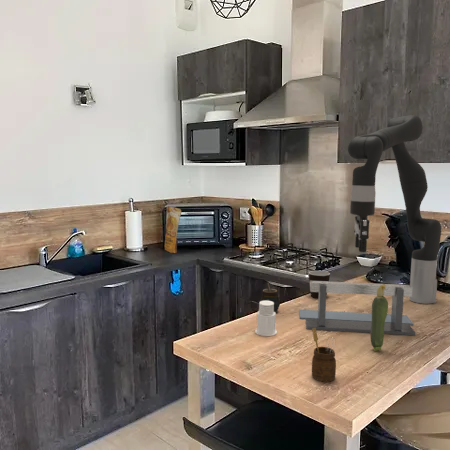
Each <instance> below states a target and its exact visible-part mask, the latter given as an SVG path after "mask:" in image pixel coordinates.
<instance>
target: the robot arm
mask: <svg viewBox="0 0 450 450" xmlns="http://www.w3.org/2000/svg"><path fill="white" fill-rule="evenodd" d="M422 134H423V122H422V118H420V117H419V116H418V115H416V114H415V115H414V114H409V115H402V116H396V117H392V118H390V119H389V120H388V121H387V126H386V127H384V128H381V129H378V130H375V131H373V132H372V133H368V134H362V135H357V136H355V137H353V138H352V139H350V141H349V143H348V146H347V151H348V155H349V156H350V157H351V158H352V159H353V160H354V159H355V160H366V162H365V163H364V165H361V166H357V167H355V168H354V169H352V170H353V171H352V179H351V180H352V181H351V182H352V183H351V184H352V186H351V189H350V190H351V192H350V208H349V213H350V214H351V215H352V216H353V215H355V216H354V227H353V228H354V236H355V240H354V246H355V248H357V249H358V252H360V253H366V252H367V242H368V240H369V237H370V236H369V234H370V233H369V231H370V219H368V216H373V215H375V211H376V176H377V174H376V173H377V170H378V167H379V162H380V160H381V157H382V154H383V152H384V151H387V150H388V149H390V148H391V150H392V153H393V156H394V158H395V163H396V166H397V167H396V168H397V172H398V178H399V182H400V187H401V188H400V189H401V191H402V197H403V200H404V205H405V213H406V219H407V220H406V221H407V222H406V223H407V230H408V235H409V236H410V237H409V238H411V239H412V240H414V241H417V242H423V243H424V244H423V247H422V248H418V249H414V250H413V251H412V252H411V264H410V280H409V285H411V286H412V287H413V289H412V297H411V296H408V297H409V298H408V300H409V301H411V302H413V303H417V304H423V305H424V304H427V305H428V304H436V303H437V292H438V291H437V288H438V279H437V267H438V266H437V263H438V256H439V253H440V252H439V251H440V246H441V245H440V242H441V237H442V236H441V235H442V225H441V222H440V221H439V220H437V219H433V218H425V217H424V218H423V217H422V215H421V204H422V203H423V200H424V199H425V196H426V194H427V191H428V187H429V186H428V181H427V176H426V172H425V169H424V168H423V167H422V166H421V164H420V163H419V162H418V161H417V160H416V159H415V158H414V157H413V156H412V155H411V154H410V153H409V151H408V149H407V147H406V145H405V142H414V141H416V140H418V139H419V138H420V137H421V136H422Z"/></svg>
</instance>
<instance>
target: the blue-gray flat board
mask: <svg viewBox="0 0 450 450" xmlns="http://www.w3.org/2000/svg"><path fill="white" fill-rule="evenodd" d="M298 312H299V320H306V318H307V319H318V309H317V310H316V309H315V310H313V309H299V311H298ZM325 319H326V320H344V321H362V322H372V312H353V311H333V310H326V314H325ZM385 323H391V313H390V314H389V313H387V316H386V319H385ZM402 324H409V325H410V326H414V322H413V321H412V320H411V319H410V317H409V316H408V315H407V314H402Z"/></svg>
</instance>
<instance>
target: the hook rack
mask: <svg viewBox="0 0 450 450" xmlns="http://www.w3.org/2000/svg"><path fill="white" fill-rule="evenodd" d="M326 288H327V286H325V285H320V292H319V299H317V300H318V301H317V305H318V308H317V310H318V319H307V318H306V319H305V325H306V326H305V327H306V330H310V331H311V330H312V329H313V328H314V329H315V328H316V331H327V332H328V331H329V332H331V331H333V332H346V333H347V332H349V333H363V334H365V333H366V334H368V333H369V334H371V325H372V322H362V321H344V320H326V319H325V314H326V311H327V308H326V307H327V297H326ZM391 297H392V298H391V310H390V311H391V313H390V314H391V323H385V324H384V335H399V336H413V337H415V336H416V332H415V330H414V328H412V327H411V326H412V325H409V324H402V315H403V311H404V309H403V308H404V297H405V296H404V289H397V290H396V296H391Z"/></svg>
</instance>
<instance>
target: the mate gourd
mask: <svg viewBox="0 0 450 450" xmlns="http://www.w3.org/2000/svg"><path fill="white" fill-rule="evenodd" d="M267 287H268V288H264V289H262V292H261V293H262V294H261V298H260V299H259V300H260V301H272V302H274V312H275V313H276V312H277V311H278V310H279V307H281V303H280V299H279V294H278V290H277V289H275V288H271V286H270V282H267ZM260 301H259V302H260Z"/></svg>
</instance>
